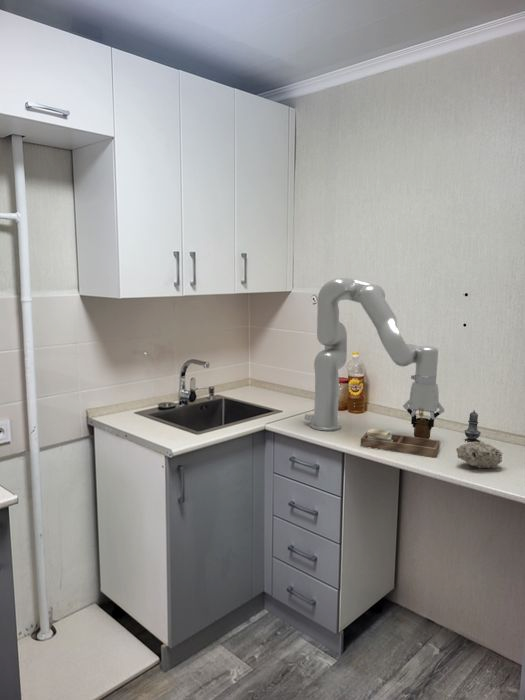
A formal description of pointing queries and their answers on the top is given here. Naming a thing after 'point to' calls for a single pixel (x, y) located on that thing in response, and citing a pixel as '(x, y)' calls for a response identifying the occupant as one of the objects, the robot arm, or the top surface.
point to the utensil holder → (422, 426)
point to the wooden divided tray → (405, 445)
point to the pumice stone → (480, 455)
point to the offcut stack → (379, 435)
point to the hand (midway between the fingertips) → (422, 427)
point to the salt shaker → (472, 428)
